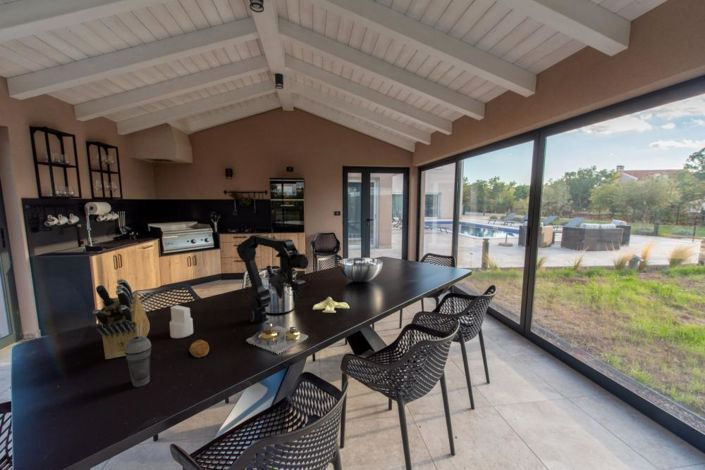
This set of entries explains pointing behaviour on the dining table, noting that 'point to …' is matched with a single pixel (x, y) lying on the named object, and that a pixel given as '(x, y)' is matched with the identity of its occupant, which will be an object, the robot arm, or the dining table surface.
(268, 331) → the gear
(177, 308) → the cylinder with rectangular tab
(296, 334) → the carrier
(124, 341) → the knife block
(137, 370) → the beverage cup
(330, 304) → the bird figurine
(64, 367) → the dining table surface
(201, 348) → the pastry
